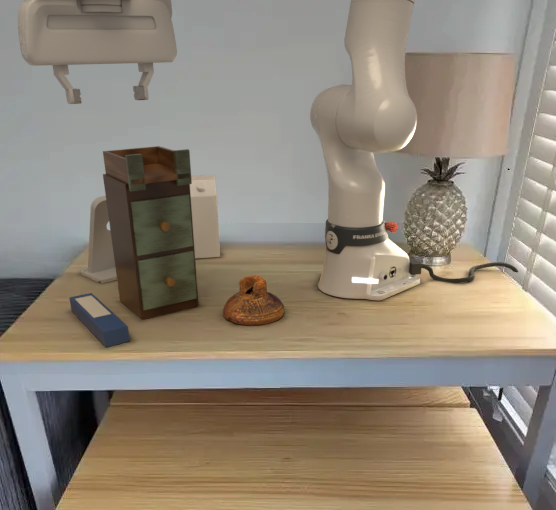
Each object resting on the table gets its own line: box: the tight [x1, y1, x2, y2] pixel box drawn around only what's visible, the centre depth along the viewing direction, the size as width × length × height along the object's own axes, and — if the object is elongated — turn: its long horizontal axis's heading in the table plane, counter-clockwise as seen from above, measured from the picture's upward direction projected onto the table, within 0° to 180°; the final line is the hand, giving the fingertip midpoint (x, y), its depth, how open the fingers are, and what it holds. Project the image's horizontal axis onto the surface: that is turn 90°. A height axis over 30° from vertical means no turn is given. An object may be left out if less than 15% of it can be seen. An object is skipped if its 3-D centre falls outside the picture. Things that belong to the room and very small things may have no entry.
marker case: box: [68, 292, 131, 348], centre depth 113 cm, size 4×20×3 cm, turn 33°
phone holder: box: [79, 195, 117, 284], centre depth 138 cm, size 17×10×18 cm, turn 136°
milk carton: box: [190, 174, 221, 259], centre depth 148 cm, size 7×7×19 cm
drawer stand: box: [102, 145, 200, 321], centre depth 115 cm, size 12×13×30 cm
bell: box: [222, 275, 285, 326], centre depth 116 cm, size 12×12×7 cm
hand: (109, 101), depth 84 cm, fingers open, 8 cm apart
